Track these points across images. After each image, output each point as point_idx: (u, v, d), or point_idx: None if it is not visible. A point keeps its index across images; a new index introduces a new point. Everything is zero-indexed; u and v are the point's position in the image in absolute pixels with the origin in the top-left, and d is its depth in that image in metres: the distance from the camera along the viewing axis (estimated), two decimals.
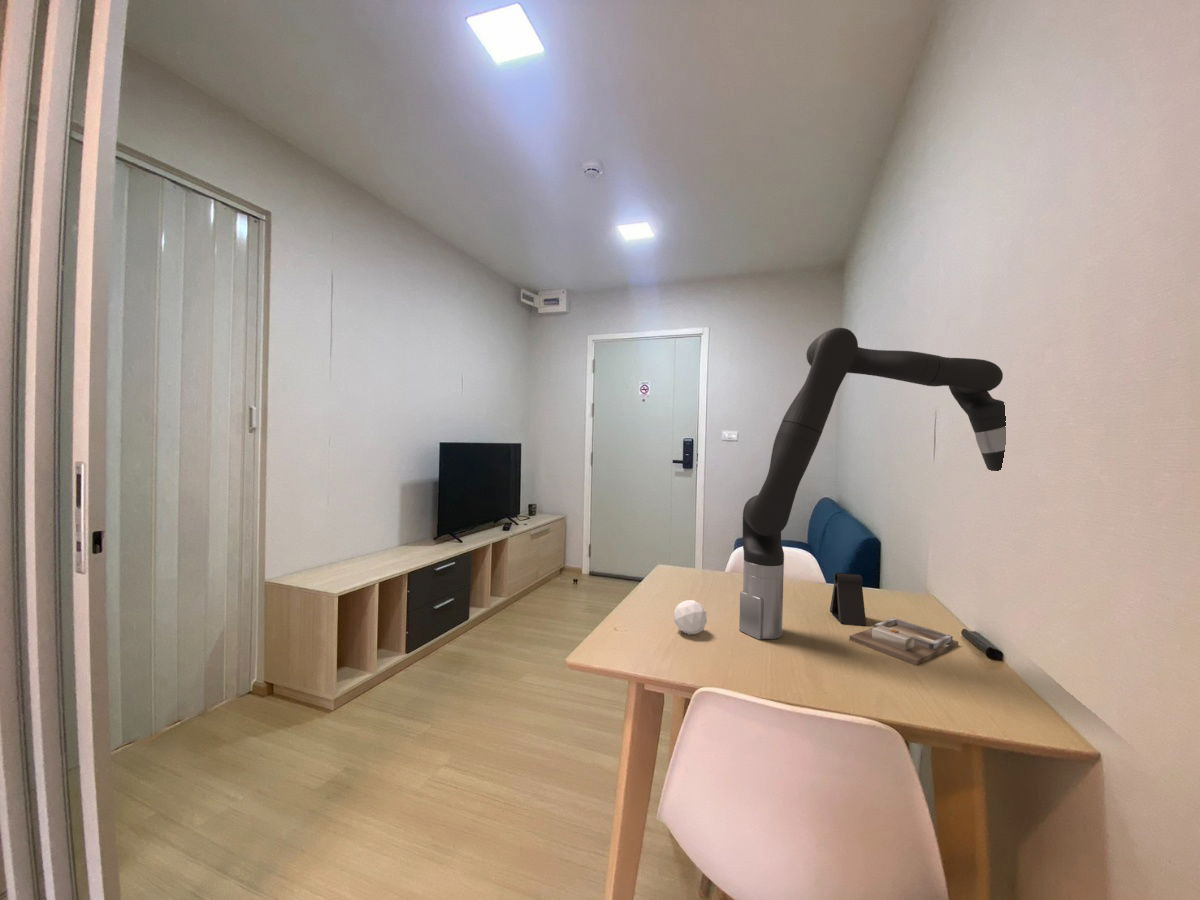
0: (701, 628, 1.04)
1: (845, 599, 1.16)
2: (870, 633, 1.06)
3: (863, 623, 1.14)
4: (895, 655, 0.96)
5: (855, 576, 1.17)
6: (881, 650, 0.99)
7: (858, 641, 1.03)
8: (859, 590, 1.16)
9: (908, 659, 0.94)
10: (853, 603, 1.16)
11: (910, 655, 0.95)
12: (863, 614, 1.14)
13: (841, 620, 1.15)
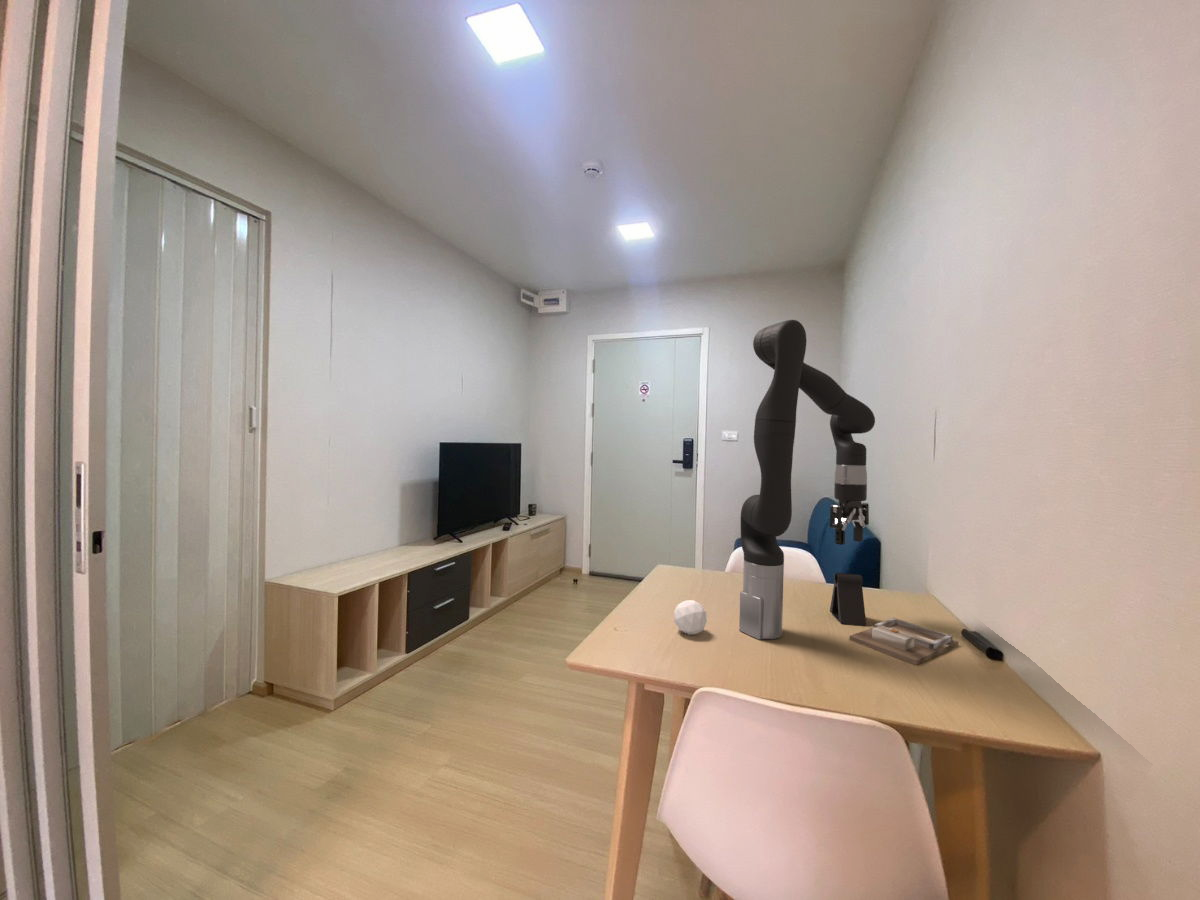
0: (701, 628, 1.04)
1: (845, 599, 1.16)
2: (870, 633, 1.06)
3: (863, 623, 1.14)
4: (895, 655, 0.96)
5: (855, 576, 1.17)
6: (881, 650, 0.99)
7: (858, 641, 1.03)
8: (859, 590, 1.16)
9: (908, 659, 0.94)
10: (853, 603, 1.16)
11: (910, 655, 0.95)
12: (863, 614, 1.14)
13: (841, 620, 1.15)
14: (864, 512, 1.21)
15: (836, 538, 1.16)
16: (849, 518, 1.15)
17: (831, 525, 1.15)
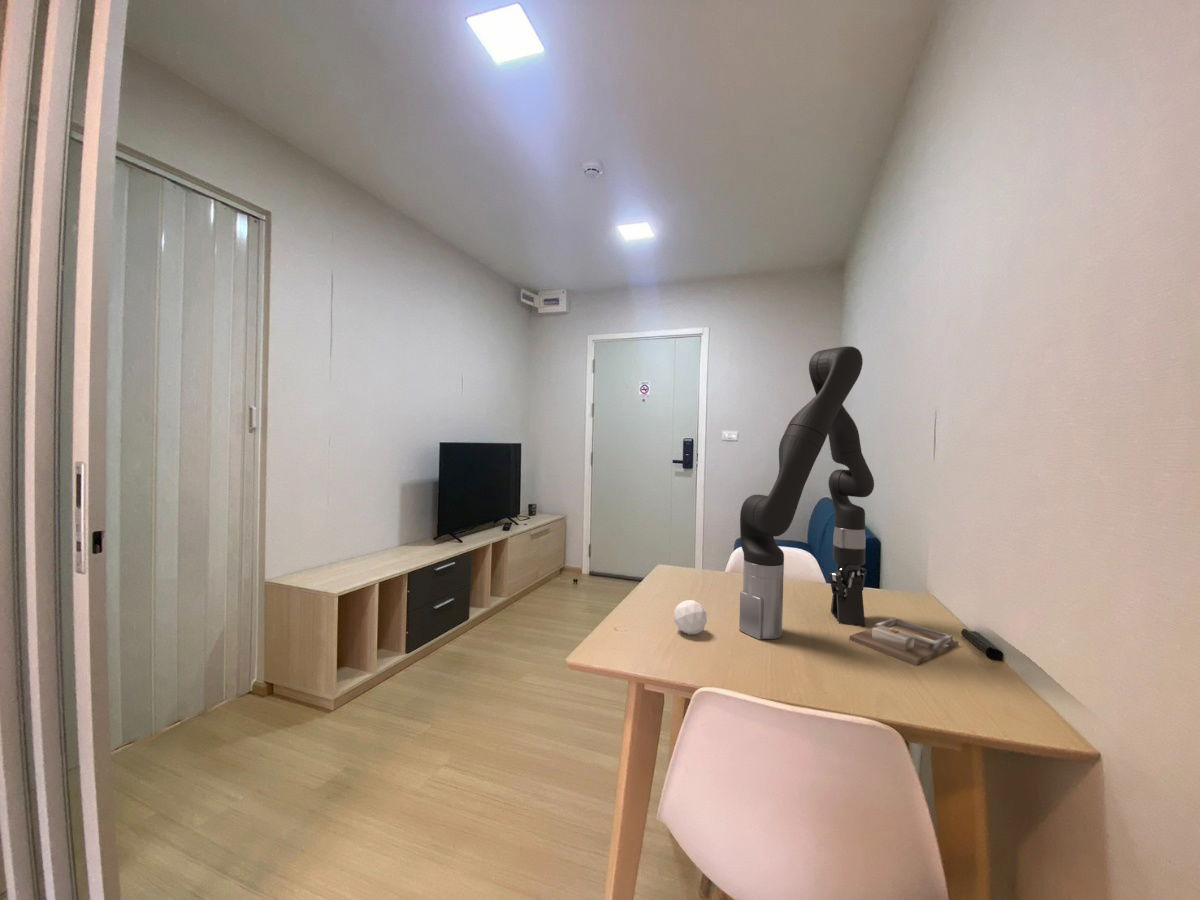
0: (701, 628, 1.04)
1: (844, 599, 1.16)
2: (870, 633, 1.06)
3: (862, 623, 1.14)
4: (895, 655, 0.96)
5: (855, 576, 1.17)
6: (881, 650, 0.99)
7: (858, 641, 1.03)
8: (859, 590, 1.16)
9: (908, 659, 0.94)
10: (852, 603, 1.16)
11: (910, 655, 0.95)
12: (862, 614, 1.14)
13: (839, 620, 1.15)
14: None
15: None
16: (849, 584, 1.16)
17: (834, 592, 1.16)
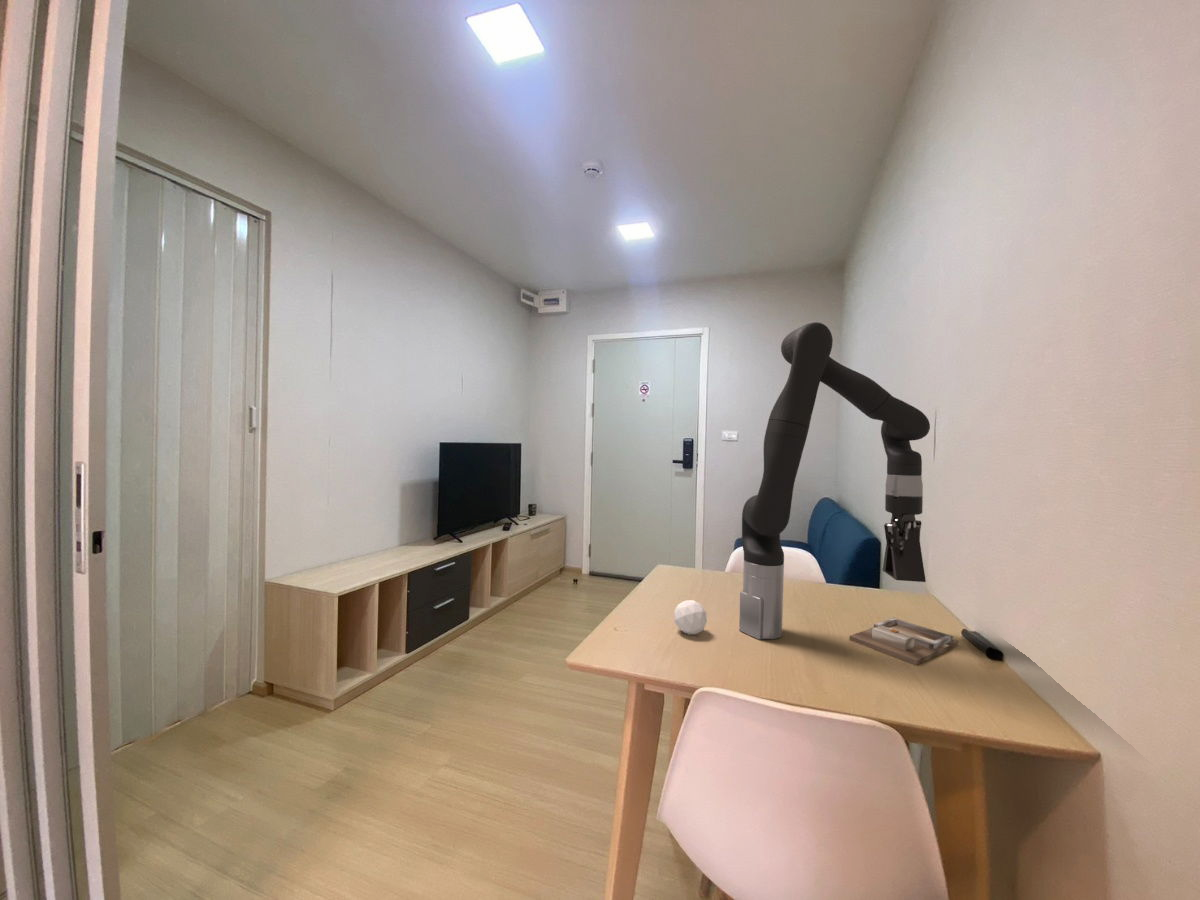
0: (701, 628, 1.04)
1: None
2: (870, 633, 1.06)
3: (922, 579, 1.04)
4: (895, 655, 0.96)
5: (911, 529, 1.07)
6: (881, 650, 0.99)
7: (858, 641, 1.03)
8: (916, 544, 1.06)
9: (908, 659, 0.94)
10: (910, 558, 1.06)
11: (910, 655, 0.95)
12: (922, 569, 1.04)
13: (897, 576, 1.05)
14: None
15: None
16: (906, 535, 1.06)
17: (889, 545, 1.06)
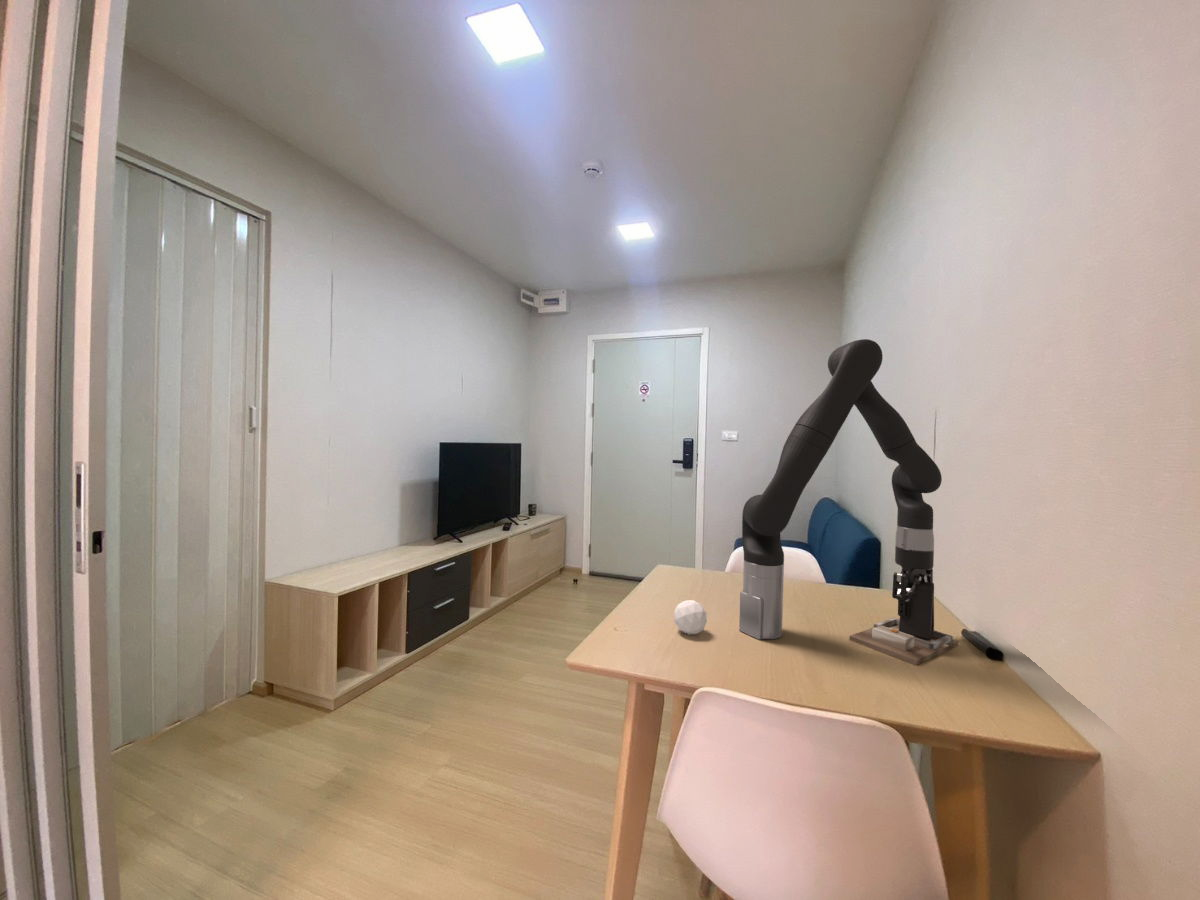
0: (701, 628, 1.04)
1: None
2: (870, 633, 1.06)
3: (926, 636, 1.01)
4: (895, 655, 0.96)
5: (924, 584, 1.04)
6: (881, 650, 0.99)
7: (858, 641, 1.03)
8: (928, 600, 1.03)
9: (908, 659, 0.94)
10: (917, 613, 1.03)
11: (910, 655, 0.95)
12: (928, 627, 1.01)
13: (899, 629, 1.04)
14: (928, 578, 1.08)
15: (899, 610, 1.04)
16: (914, 588, 1.03)
17: (894, 596, 1.03)
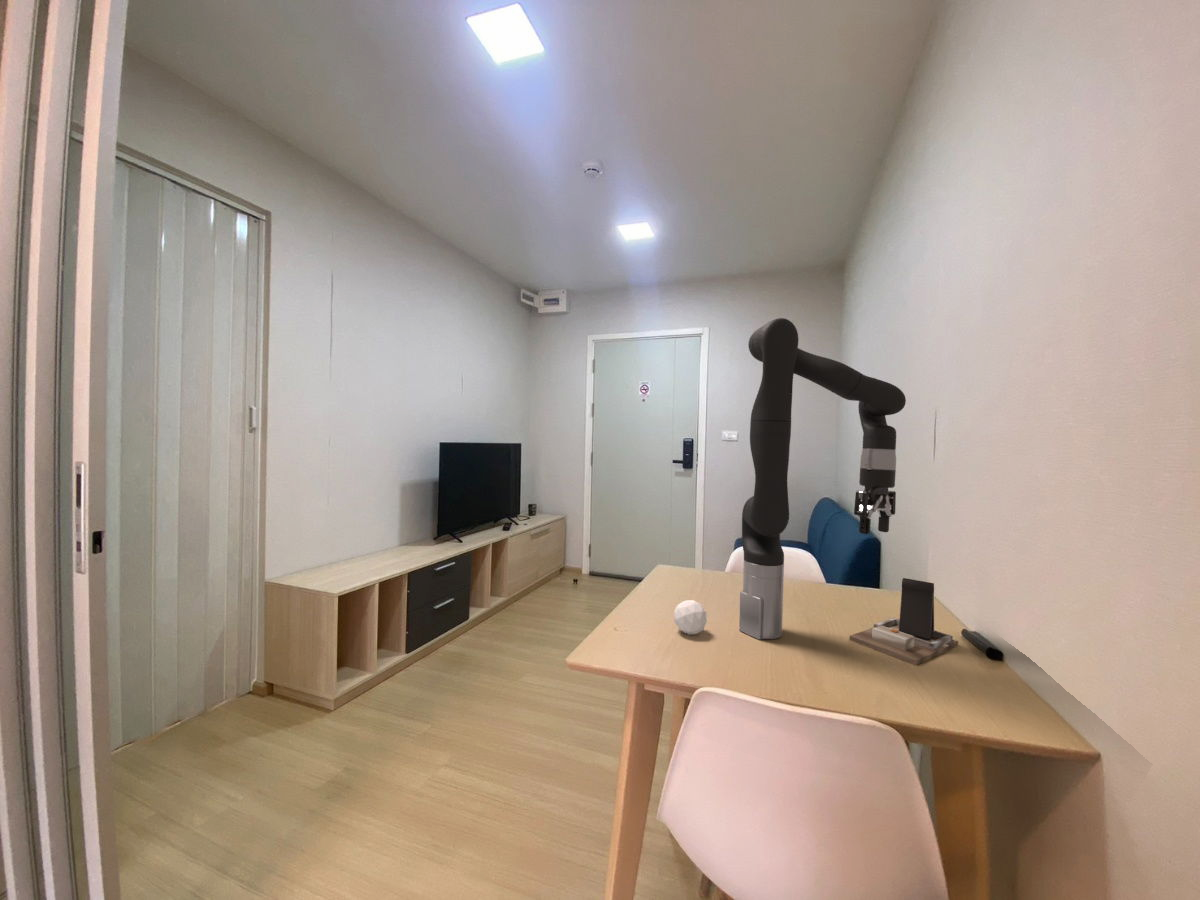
0: (701, 628, 1.04)
1: (908, 607, 1.04)
2: (870, 633, 1.06)
3: (926, 636, 1.01)
4: (895, 655, 0.96)
5: (924, 584, 1.04)
6: (881, 650, 0.99)
7: (858, 641, 1.03)
8: (928, 600, 1.03)
9: (908, 659, 0.94)
10: (917, 613, 1.03)
11: (910, 655, 0.95)
12: (928, 627, 1.01)
13: (899, 629, 1.04)
14: (891, 501, 1.13)
15: (860, 527, 1.08)
16: (875, 505, 1.07)
17: (856, 512, 1.07)
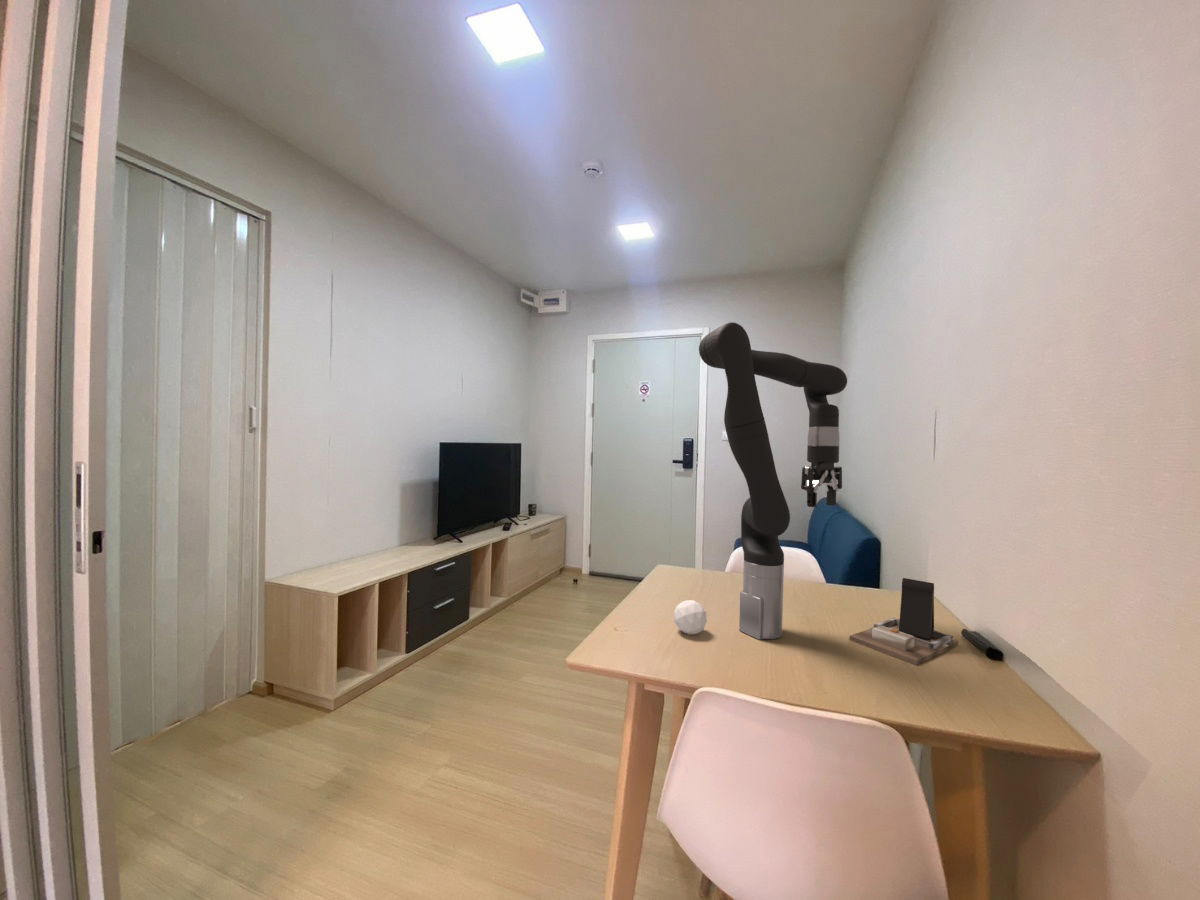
0: (701, 628, 1.04)
1: (908, 607, 1.04)
2: (870, 633, 1.06)
3: (926, 636, 1.01)
4: (895, 655, 0.96)
5: (924, 584, 1.04)
6: (881, 650, 0.99)
7: (858, 641, 1.03)
8: (928, 600, 1.03)
9: (908, 659, 0.94)
10: (917, 613, 1.03)
11: (910, 655, 0.95)
12: (928, 627, 1.01)
13: (899, 629, 1.04)
14: (837, 476, 1.19)
15: (808, 500, 1.15)
16: (821, 480, 1.14)
17: (803, 487, 1.14)
